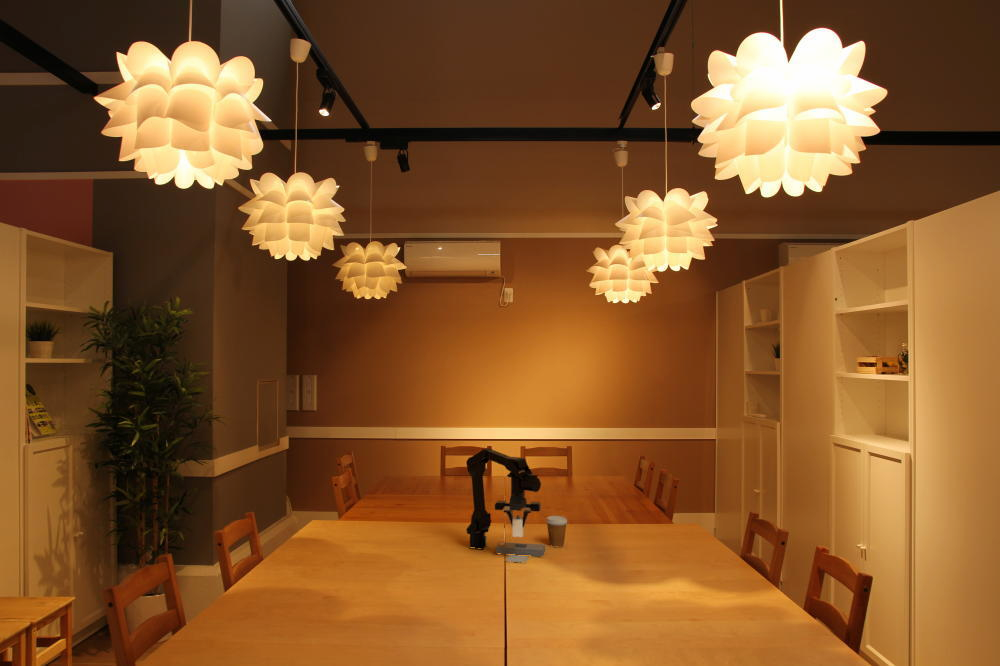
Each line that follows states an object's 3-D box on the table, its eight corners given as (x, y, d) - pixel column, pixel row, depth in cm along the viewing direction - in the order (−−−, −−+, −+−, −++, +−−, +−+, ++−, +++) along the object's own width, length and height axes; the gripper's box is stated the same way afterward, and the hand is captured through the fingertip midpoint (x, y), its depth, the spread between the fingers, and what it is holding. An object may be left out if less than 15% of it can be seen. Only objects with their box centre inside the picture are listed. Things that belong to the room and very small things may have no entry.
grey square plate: (505, 562, 247) (505, 560, 247) (509, 556, 255) (509, 554, 255) (525, 563, 246) (525, 562, 246) (528, 557, 254) (528, 556, 254)
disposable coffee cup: (568, 548, 267) (568, 520, 267) (546, 548, 267) (546, 520, 267) (566, 542, 276) (566, 515, 277) (545, 542, 276) (545, 515, 277)
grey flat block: (495, 554, 258) (495, 545, 258) (499, 548, 266) (499, 540, 266) (542, 557, 254) (542, 548, 254) (545, 551, 262) (545, 543, 262)
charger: (512, 536, 250) (512, 516, 251) (514, 534, 254) (513, 514, 255) (522, 537, 249) (522, 516, 250) (523, 534, 253) (523, 514, 254)
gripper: (492, 491, 247) (492, 531, 246) (538, 493, 243) (538, 533, 242) (497, 486, 258) (497, 524, 257) (540, 488, 254) (541, 526, 253)
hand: (518, 526), depth 252 cm, fingers closed on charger, 4 cm apart
